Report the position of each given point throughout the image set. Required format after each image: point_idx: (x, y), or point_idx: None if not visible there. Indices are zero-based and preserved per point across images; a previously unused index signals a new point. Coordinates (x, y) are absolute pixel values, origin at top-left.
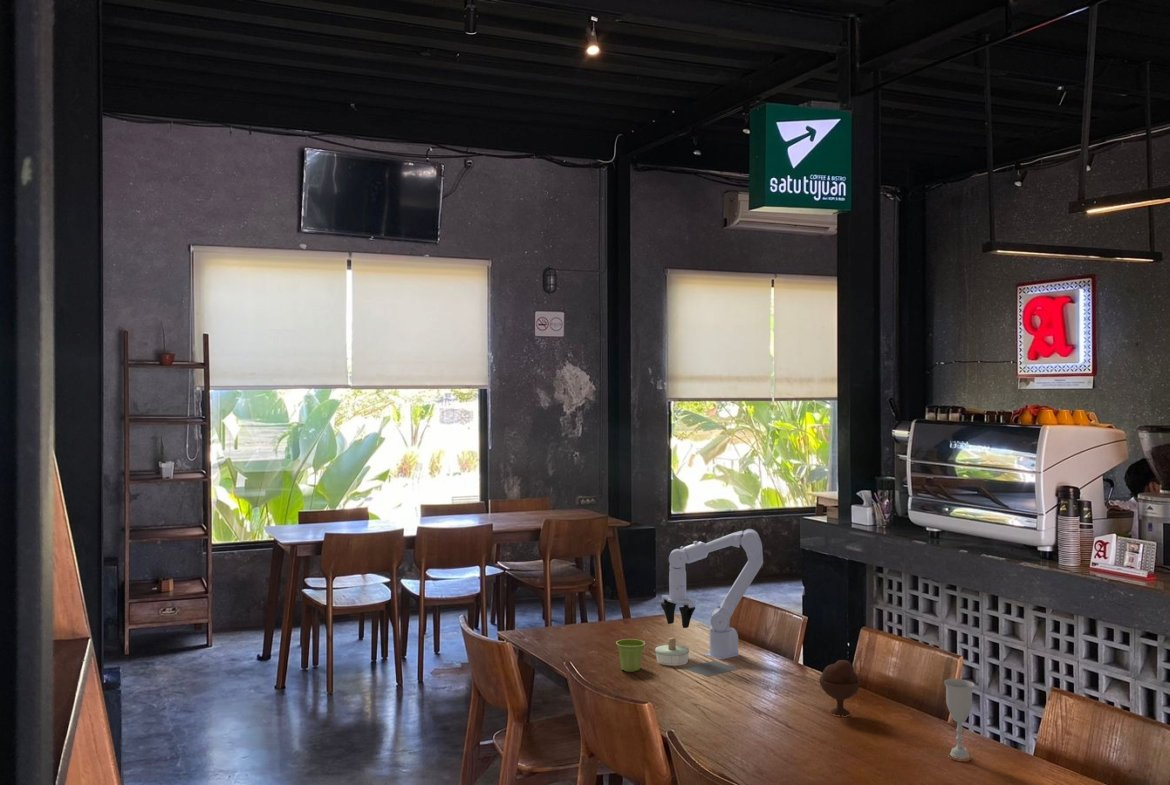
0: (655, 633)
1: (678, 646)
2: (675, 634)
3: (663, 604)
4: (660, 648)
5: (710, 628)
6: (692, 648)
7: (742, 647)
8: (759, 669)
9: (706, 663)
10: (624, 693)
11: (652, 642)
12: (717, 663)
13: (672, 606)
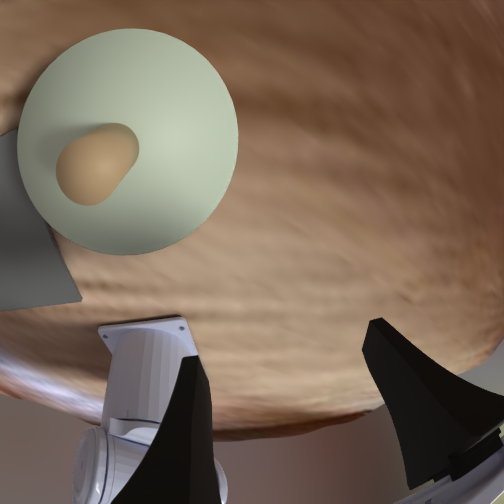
0: (475, 297)
1: (158, 222)
2: (434, 334)
3: (487, 430)
4: (170, 80)
5: (152, 429)
6: (300, 324)
7: (220, 412)
8: (2, 346)
9: (51, 260)
10: None
11: (447, 246)
12: (45, 293)
13: (416, 452)
